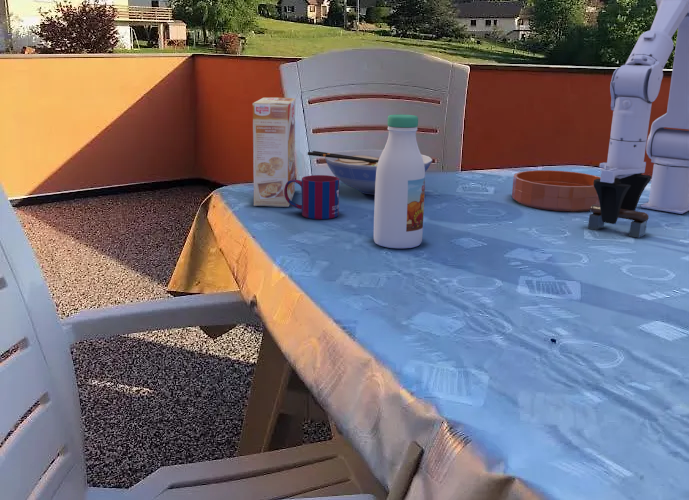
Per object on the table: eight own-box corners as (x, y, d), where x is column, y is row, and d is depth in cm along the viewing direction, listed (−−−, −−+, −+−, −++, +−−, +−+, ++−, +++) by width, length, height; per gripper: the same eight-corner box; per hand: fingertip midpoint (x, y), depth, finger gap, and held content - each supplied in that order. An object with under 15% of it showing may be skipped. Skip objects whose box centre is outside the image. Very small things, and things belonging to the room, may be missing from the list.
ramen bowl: (453, 190, 154) (455, 152, 152) (403, 209, 135) (405, 166, 133) (355, 177, 167) (356, 142, 164) (297, 193, 148) (297, 154, 146)
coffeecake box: (289, 207, 135) (289, 103, 129) (252, 206, 135) (250, 102, 130) (296, 191, 149) (296, 97, 144) (262, 190, 149) (261, 96, 144)
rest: (587, 228, 124) (589, 214, 123) (594, 225, 126) (596, 211, 125) (638, 238, 118) (640, 223, 117) (645, 234, 120) (647, 220, 120)
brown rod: (587, 213, 124) (588, 204, 123) (591, 211, 125) (592, 203, 125) (645, 223, 118) (647, 214, 117) (649, 221, 119) (650, 212, 118)
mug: (332, 220, 125) (333, 182, 124) (279, 216, 128) (279, 179, 126) (342, 212, 132) (343, 176, 130) (291, 208, 134) (291, 172, 132)
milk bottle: (389, 252, 107) (394, 118, 102) (364, 239, 114) (368, 113, 108) (431, 246, 111) (438, 117, 105) (405, 234, 117) (410, 112, 112)
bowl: (537, 189, 157) (539, 167, 155) (619, 202, 145) (622, 178, 144) (494, 201, 144) (496, 177, 142) (581, 217, 132) (584, 190, 130)
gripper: (621, 133, 125) (611, 208, 129) (586, 140, 115) (577, 221, 119) (662, 137, 121) (650, 215, 125) (630, 145, 110) (618, 229, 114)
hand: (617, 219), depth 121 cm, fingers open, 7 cm apart
